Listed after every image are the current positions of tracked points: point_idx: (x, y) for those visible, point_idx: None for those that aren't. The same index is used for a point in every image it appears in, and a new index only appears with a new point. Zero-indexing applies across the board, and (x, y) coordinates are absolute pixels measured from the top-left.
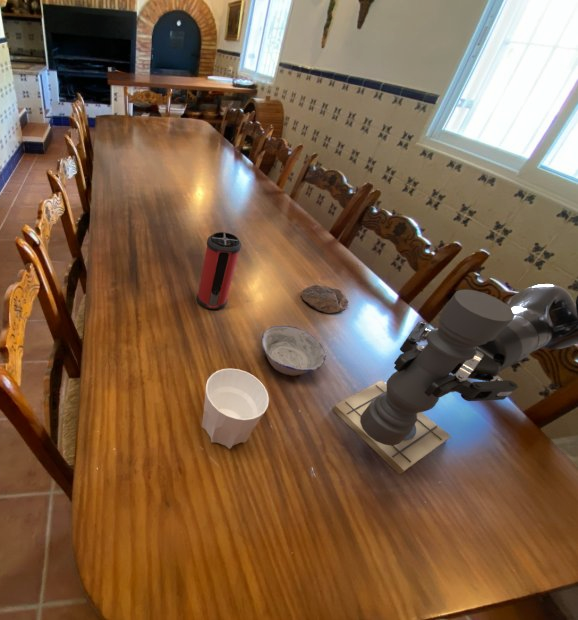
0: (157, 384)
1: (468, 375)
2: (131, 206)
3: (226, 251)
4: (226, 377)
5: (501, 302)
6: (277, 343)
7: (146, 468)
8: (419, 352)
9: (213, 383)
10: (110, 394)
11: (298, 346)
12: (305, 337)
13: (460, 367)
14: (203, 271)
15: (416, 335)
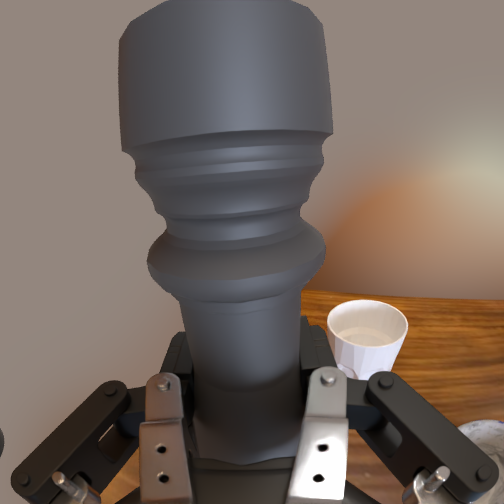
0: (414, 335)
1: (146, 408)
2: None
3: None
4: (400, 333)
5: (182, 2)
6: (500, 466)
7: (324, 318)
8: (313, 365)
9: (391, 324)
10: (398, 307)
11: (496, 498)
12: None
13: (183, 416)
14: None
15: (405, 407)
